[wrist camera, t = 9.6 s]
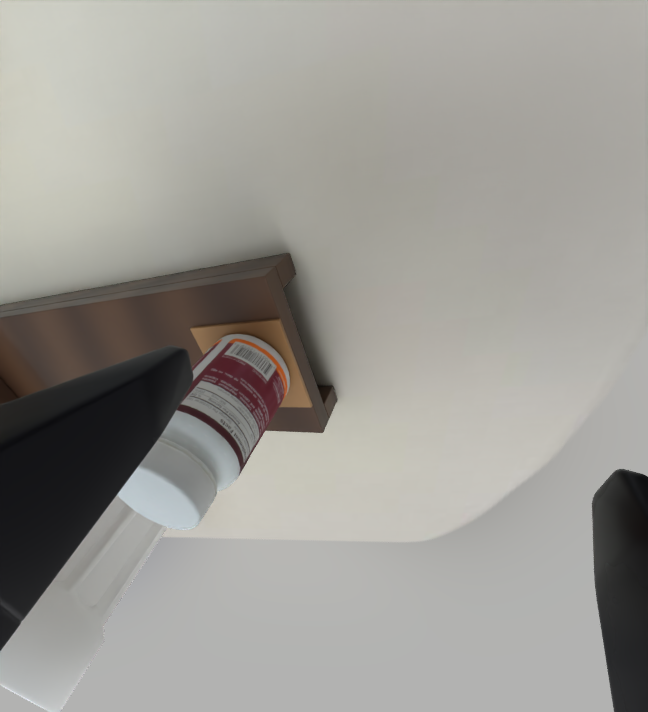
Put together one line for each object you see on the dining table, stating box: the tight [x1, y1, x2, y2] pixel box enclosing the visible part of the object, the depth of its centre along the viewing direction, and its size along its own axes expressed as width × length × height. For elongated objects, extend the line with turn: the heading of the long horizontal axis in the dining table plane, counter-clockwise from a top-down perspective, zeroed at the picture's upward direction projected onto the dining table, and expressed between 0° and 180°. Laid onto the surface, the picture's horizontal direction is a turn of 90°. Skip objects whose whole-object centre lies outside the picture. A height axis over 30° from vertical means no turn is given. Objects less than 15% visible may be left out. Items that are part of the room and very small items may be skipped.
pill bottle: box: [117, 334, 290, 530], centre depth 17 cm, size 5×5×8 cm
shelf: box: [0, 253, 337, 433], centre depth 26 cm, size 29×10×5 cm, turn 106°
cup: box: [0, 495, 168, 712], centre depth 32 cm, size 11×11×17 cm
